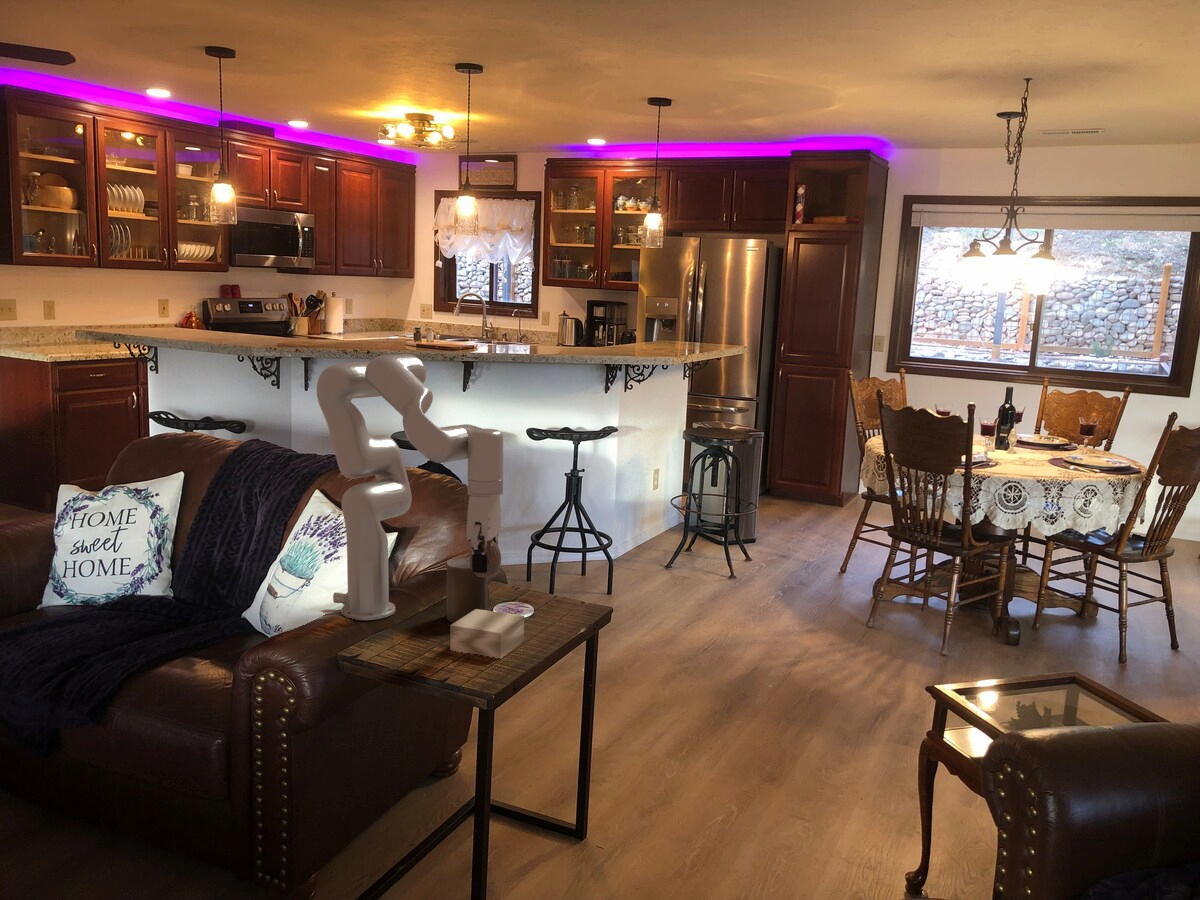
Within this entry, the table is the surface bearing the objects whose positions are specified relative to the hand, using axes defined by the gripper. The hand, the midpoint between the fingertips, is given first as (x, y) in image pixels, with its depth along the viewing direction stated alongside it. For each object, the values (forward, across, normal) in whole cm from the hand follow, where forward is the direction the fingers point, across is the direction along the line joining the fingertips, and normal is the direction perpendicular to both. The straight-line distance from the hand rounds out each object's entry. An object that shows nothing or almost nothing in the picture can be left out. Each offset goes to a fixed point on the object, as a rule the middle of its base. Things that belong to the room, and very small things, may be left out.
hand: (485, 566), depth 207 cm
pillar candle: (+18, -16, -10) cm, 26 cm away
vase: (+2, 0, 0) cm, 2 cm away
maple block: (+18, 0, 0) cm, 18 cm away
